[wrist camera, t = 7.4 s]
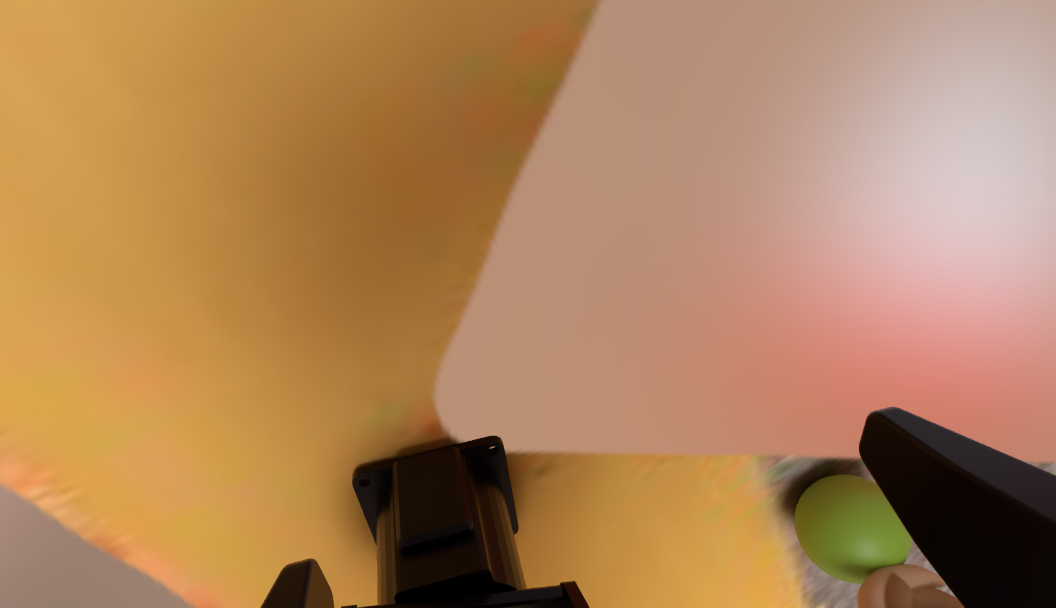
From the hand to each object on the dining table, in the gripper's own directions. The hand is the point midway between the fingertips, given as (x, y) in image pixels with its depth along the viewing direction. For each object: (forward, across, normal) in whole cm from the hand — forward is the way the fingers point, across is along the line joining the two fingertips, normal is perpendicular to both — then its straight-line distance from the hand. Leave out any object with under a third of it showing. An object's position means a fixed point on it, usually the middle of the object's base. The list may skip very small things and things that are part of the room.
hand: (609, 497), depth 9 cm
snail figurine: (+13, -16, +21) cm, 30 cm away
